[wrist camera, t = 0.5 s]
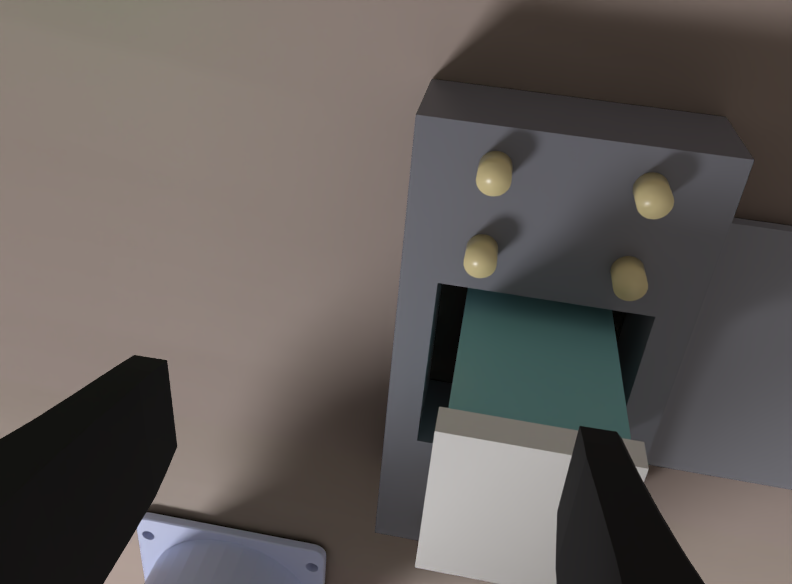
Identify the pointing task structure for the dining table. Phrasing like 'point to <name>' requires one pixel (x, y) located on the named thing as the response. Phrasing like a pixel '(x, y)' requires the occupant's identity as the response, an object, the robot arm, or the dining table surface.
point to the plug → (517, 434)
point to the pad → (737, 367)
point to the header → (553, 242)
